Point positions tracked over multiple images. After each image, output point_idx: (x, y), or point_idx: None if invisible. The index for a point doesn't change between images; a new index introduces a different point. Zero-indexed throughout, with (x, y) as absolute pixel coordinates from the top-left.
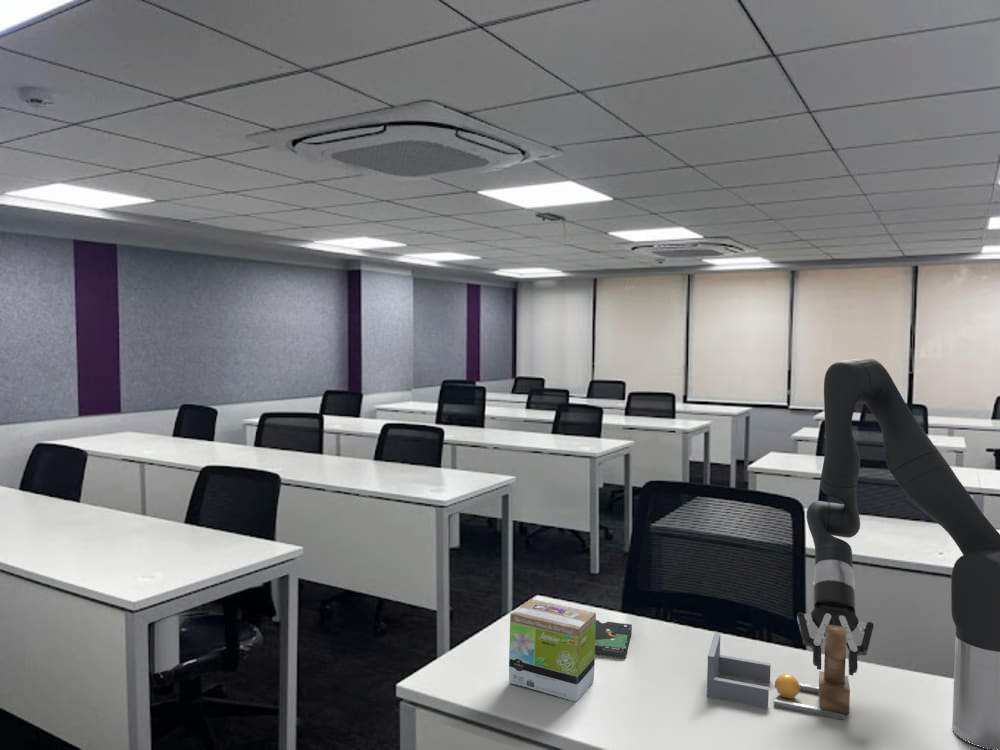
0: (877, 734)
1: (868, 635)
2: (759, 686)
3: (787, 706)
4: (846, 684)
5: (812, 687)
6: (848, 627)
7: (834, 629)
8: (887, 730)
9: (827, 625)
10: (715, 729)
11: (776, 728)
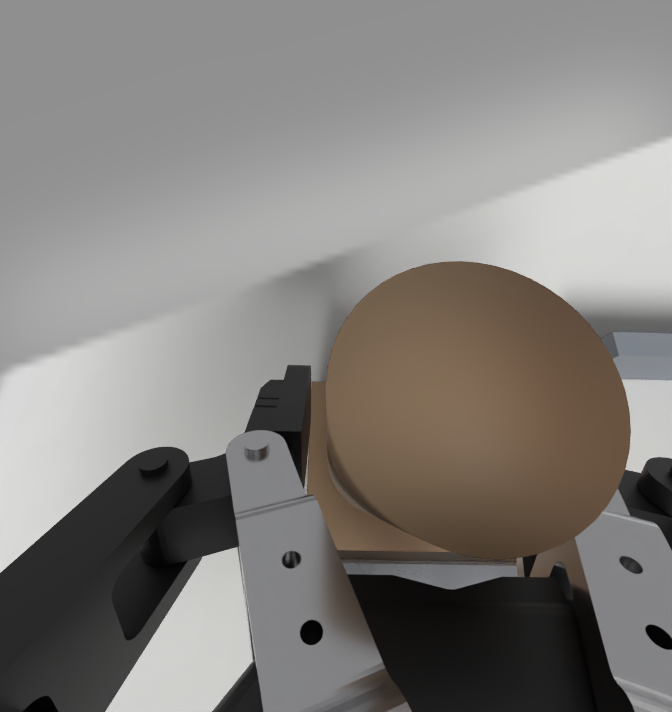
0: (245, 323)
1: (8, 596)
2: (651, 348)
3: None
4: (322, 430)
5: (449, 568)
6: (268, 647)
7: (492, 339)
8: (208, 359)
9: (613, 472)
10: (654, 195)
11: (518, 252)
